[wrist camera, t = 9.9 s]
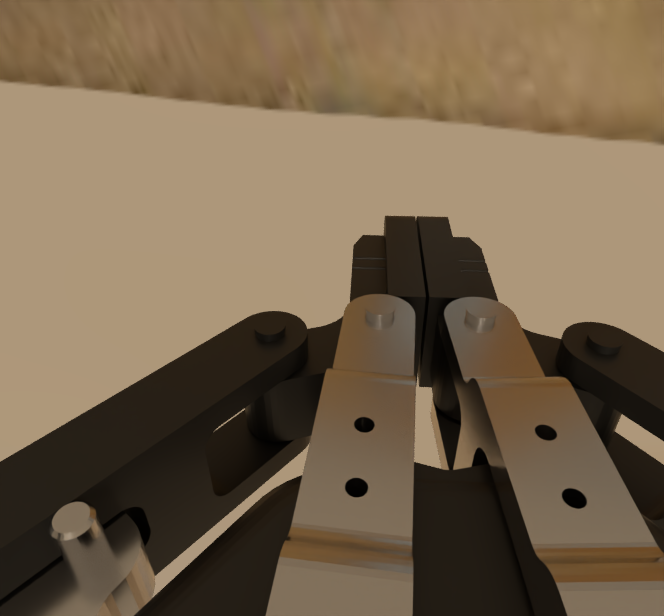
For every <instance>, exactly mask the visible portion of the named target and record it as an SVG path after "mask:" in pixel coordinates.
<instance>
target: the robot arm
mask: <svg viewBox="0 0 664 616" xmlns="http://www.w3.org/2000/svg"><path fill="white" fill-rule="evenodd" d="M417 374H418V378H419V386H420V387H432V392H433V399H432V407H431V413H430V414H431V421H432V425H433V430H434V434H435V439H436V444H437V449H438V453H439V458H440V463H441V467H442V469H439V468H435V467H431V466H427V465H423V464H420V463H416V462H414V441H415V440H414V439H415V396H416V383H417ZM244 408H245V410H244V411H242V412H241V413H240V414H238V415H237V416H236V417H234V418H233V419H231V420H230V421H229V422H227V423H226V424H224V425H223V426H222V427H220V428H219V429H218V430H216V431H215V432H214V430H215V429H216V428H218V427H219V426H220V425H221V424H223V423H224V422H226V421H227V420H228V419H230V418H231V417H233V416H234V415H235V414H237V413H238V412H240V411H241V410H242V409H244ZM622 414H623V415H625V416H626V417H627V418H629V419H630V420H632V421H634V422H635V423H637V424H639V425H640V426H641V427H643V428H644V429H646V430H647V431H649V432H650V433H652V434H653V435H655V436H657V437H658V438H660V439H661V440H663V441H664V352H662V351H661V350H659V349H657V348H655V347H653V346H651V345H649V344H648V343H646V342H644V341H642V340H640V339H638V338H636V337H635V336H633V335H631V334H629V333H627V332H625V331H623V330H621V329H619V328H616V327H614V326H610V325H607V324H602V323H596V322H582V323H577V324H573V325H571V326H570V327H568V328H566V330H565V331H564V333H563V335H562V339H558V338H553V337H549V336H545V335H540V334H537V333H533V332H530V331H527V330H525V329H523V328H522V327H521V326H520V323H519V322H518V319H517V317H516V315H515V314H514V312H513V311H512V310H511V309H509V308H508V307H507V306H505V305H504V304H502V303H500V302H498V299H497V296H496V293H495V290H494V287H493V284H492V280H491V277H490V274H489V273H488V268H487V265H486V263H485V259H484V256H483V253H482V249H481V248H480V247H479V246H478V245H477V244H476V243H474V242H473V241H472V240H471V239H470V238H467V237H466V238H465V237H453V236H452V232H451V229H450V224H449V220H448V217H419V216H417V218H416V219H415V217H413V216H385V223H384V236H378V235H377V236H376V235H363V236H362V237H361V238H360V239H359V240H358V241H357V242H356V244H354V249H353V263H352V278H351V294H350V303H349V304H348V305H347V307H346V309H345V311H344V316H343V317H342V318H340V319H339V320H337V321H336V322H333V323H331V324H328V325H326V326H321V327H316V328H311V329H307V327H306V325H305V323H304V322H303V321H302V320H301V319H300V318H298V317H297V316H295V315H292V314H290V313H286V312H281V311H268V312H262V313H258V314H255V315H252V316H249V317H247V318H246V319H244V320H242V321H240V322H239V323H237V324H235V325H234V326H232V327H230V328H229V329H227V330H225V331H224V332H222V333H220V334H218V335H217V336H215V337H213V338H211V339H210V340H208V341H206V342H205V343H203V344H201V345H199V346H198V347H196V348H194V349H193V350H191V351H189V352H187V353H186V354H184V355H182V356H181V357H179V358H177V359H175V360H174V361H172V362H170V363H169V364H167V365H165V366H163V367H162V368H160V369H158V370H157V371H155V372H153V373H151V374H150V375H148V376H146V377H145V378H143V379H141V380H140V381H138V382H136V383H134V384H133V385H131V386H129V387H128V388H126V389H124V390H122V391H121V392H119V393H117V394H116V395H114V396H112V397H111V398H109V399H107V400H105V401H104V402H102V403H100V404H98V405H97V406H95V407H93V408H92V409H90V410H88V411H87V412H85V413H83V414H81V415H80V416H78V417H76V418H74V419H73V420H71V421H69V422H68V423H66V424H65V425H63V426H61V427H59V428H57V429H56V430H54V431H52V432H51V433H49V434H47V435H45V436H44V437H42V438H40V439H39V440H37V441H35V442H33V443H32V444H30V445H28V446H27V447H25V448H23V449H21V450H20V451H18V452H16V453H15V454H13V455H11V456H9V457H8V458H6V459H4V460H3V461H1V462H0V616H664V465H663V464H661V463H660V462H659V461H657V460H656V459H654V458H653V457H651V456H650V455H649V454H647V453H646V452H644V451H643V450H641V449H640V448H638V447H637V446H635V445H634V444H632V443H631V442H630V441H628V440H627V439H625V438H624V437H622V436H621V435H619V434H618V433H616V432H615V429H616V426H617V424H618V422H619V419H620V417H621V415H622ZM309 442H310V444H309ZM308 444H309V449H308V453H307V458H306V462H305V466H304V471H303V475H301V476H299V477H296V478H294V479H292V480H289V481H287V482H285V483H283V484H281V485H280V486H278V487H276V488H274V489H273V490H271V491H270V492H269V493H267V494H266V495H264V496H263V497H262V498H261V499H260V500H258V502H256V503H255V504H254V505H253V506H252V507H251V508H250V509H249V510H247V511H246V512H245V513H244V514H243V515H242V516H241V517H240V518H239V519H238V520H237V521H235V522H234V523H233V524H232V525H231V526H230V527H229V528H228V529H227V530H226V531H225V532H224V533H223V534H222V535H220V536H219V537H218V538H217V539H216V540H215V541H214V542H213V543H212V544H211V545H209V546H208V547H207V548H206V549H205V550H204V551H203V552H202V553H201V554H200V555H199V556H198V557H197V558H195V559H194V560H193V561H192V562H191V563H190V564H189V565H188V566H187V567H186V568H185V569H184V570H182V571H181V572H180V573H179V574H178V575H177V576H176V577H175V578H174V579H173V580H172V581H171V582H170V583H168V584H167V585H166V586H165V587H164V588H163V589H162V590H161V591H160V592H159V593H158V594H156V595H155V596H154V597H153V598H152V596H153V593H154V587H155V575H157V574H158V573H159V572H160V571H161V570H162V569H164V568H165V567H166V566H167V565H168V564H170V563H171V562H172V561H173V560H174V559H176V558H177V557H178V556H179V555H180V554H181V553H183V552H184V551H185V550H186V549H187V548H189V547H190V546H191V545H192V544H193V543H194V542H196V541H197V540H198V539H199V538H200V537H202V536H203V535H204V534H205V533H206V532H207V531H209V530H210V529H211V528H212V527H213V526H215V525H216V524H217V523H218V522H219V521H220V520H222V519H223V518H224V517H225V516H226V515H228V514H229V513H230V512H231V511H232V510H233V509H235V508H236V507H237V506H238V505H239V504H241V503H242V502H243V501H244V500H245V499H246V498H248V497H249V496H250V495H251V494H252V493H253V492H255V491H256V490H257V489H258V488H259V487H260V486H262V485H263V484H264V483H265V482H266V481H268V480H269V479H270V478H271V477H272V476H274V475H275V474H276V473H277V472H278V471H279V470H281V469H282V468H283V467H284V466H285V465H286V464H288V463H289V462H290V461H291V460H292V459H294V458H295V457H296V456H297V455H298V454H299V453H301V452H302V451H303V450H304V449H305V448H306V447H307V445H308Z"/></svg>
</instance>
